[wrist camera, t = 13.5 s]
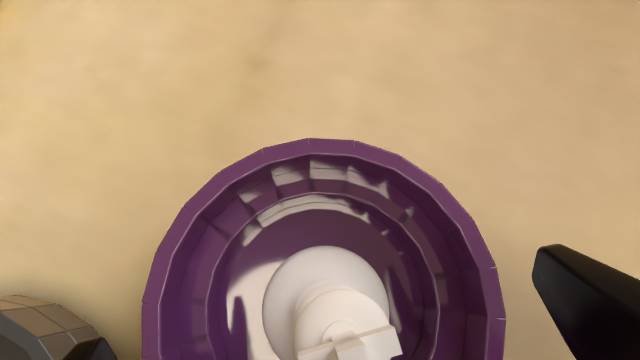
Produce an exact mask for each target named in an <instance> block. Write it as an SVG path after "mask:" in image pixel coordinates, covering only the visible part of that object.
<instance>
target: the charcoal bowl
mask: <svg viewBox="0 0 640 360" xmlns="http://www.w3.org/2000/svg"><path fill="white" fill-rule="evenodd" d="M95 337H100V336H99V335H98V334H97V332H96V331H95V330H94V328H93V327H92V326H91V325H90V324H88V323H87V322H85V321H84V320H82V319H81V318H79V317H77V316H76V315H74V314H73V313H71V312H70V311H68V310H67V309H65V308H64V307H62V306H61V305H57V304H56V303H51V302H47V301H42V300H38V299H34V298H29V297H25V296H17V295H14V296H0V360H62V359H63V357H64V356H65V355H66V354H67V353H68V352H69V351H70V350H71V349H72V348H73V347H74V346H75V345H76V344H77V343H78V342H79V341H81V340H85V339H90V338H95Z"/></svg>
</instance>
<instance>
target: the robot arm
mask: <svg viewBox="0 0 640 360" xmlns="http://www.w3.org/2000/svg"><path fill="white" fill-rule="evenodd" d="M532 280H533V284H534V286H535V288H536V290H537V292H538V294H539V295H540V297H541V299H542V301H543V303H544V304H545V306H546V308H547V310H548V312H549V313H550V315H551V317H552V319H553V321H554V322H555V324H556V326H557V328H558V330H559V331H560V333H561V335H562V337H563V339H564V341H565V342H566V344H567V346H568V347H569V349H570V351H571V352H572V354H573V355H574V357H575V358H576V360H640V280H638V279H636V278H634V277H632V276H629V275H627V274H625V273H623V272H621V271H619V270H616V269H614V268H612V267H610V266H608V265H605V264H603V263H601V262H599V261H597V260H594V259H592V258H590V257H588V256H586V255H583V254H581V253H579V252H577V251H575V250H573V249H570V248H568V247H566V246H564V245H561V244H553V245H548V246H543V247H540V248H539V249H538V251H537V254H536V258H535V263H534V267H533V272H532ZM62 360H118V359H117V357H116V356H115V354H114V352H113V351H112V349H111V348H110V346H109V344H108V343H107V341H106V340H105V339H104V338H103V337H95V338H90V339H85V340H81V341H79V342H78V343H77V344H76V345H75V346H74V347H73V348H72V349H71V350H70V351H69V352H68V353H67V354H66V355H65V356H64V357H63V359H62Z"/></svg>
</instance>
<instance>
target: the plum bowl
mask: <svg viewBox="0 0 640 360" xmlns="http://www.w3.org/2000/svg"><path fill="white" fill-rule="evenodd" d="M315 246H336V247H340V248H344V249H347V250H349V251H351V252H353V253H355V254H357V255H358V256H360V257H361V258H363V259H364V260H365V261H366V262H367V263H368V264H369V265H370V266H371V267H372V268H373V269H374V270H375V272H376V273H377V275H378V276H379V278H380V279H381V281H382V283H383V285H384V288H385V290H386V294H387V297H388V302H389V324H390V325H392V326H393V327H395V330H396V333H397V337H398V340H399V343H400V347H401V350H402V353H403V354H401V355H397V356H394V357H391V360H503V355H504V341H505V328H506V319H505V318H506V314H505V308H504V303H503V298H502V293H501V288H500V283H499V278H498V273H497V268H496V266H495V262H494V260H493V258H492V256H491V254H490V252H489V250H488V248H487V246H486V244H485V242H484V240H483V238H482V236H481V234H480V232H479V230H478V228H477V226H476V224H475V222H474V220H473V219H472V217H471V216H470V215H469V214H468V213H467V212H466V210H465V209H464V208H463V207H462V206H461V205H460V204H459V202H458V201H457V200H456V199H455V198H454V197H453V196H452V194H451V193H450V192H449V191H448V190H447V189H446V188H445V186H444V185H443V184H442V183H440V182H439V181H438V180H437V179H435V178H434V177H432V176H431V175H429V174H428V173H426V172H425V171H423V170H422V169H420V168H419V167H417V166H416V165H414V164H413V163H411V162H410V161H408V160H407V159H405V158H404V157H402V156H400V155H398V154H395V153H392V152H389V151H386V150H383V149H380V148H377V147H374V146H371V145H368V144H365V143H362V142H359V141H354V140H339V139H319V138H309V139H308V138H305V139H301V140H297V141H292V142H288V143H283V144H279V145H274V146H270V147H265V148H263V149H260V150H258V151H256V152H254V153H253V154H251V155H249V156H247V157H245V158H243V159H241V160H239V161H238V162H236V163H234V164H232V165H230V166H228V167H226V168H225V169H223V170H221V171H220V172H218V173H217V174H216V175H215V176H214V177H213V178H212V179H211V180H210V181H209V182H208V183H207V184H206V185H204V186H203V187H202V188H201V189H200V190H199V191H198V192H197V193H196V194H195V195H194V196H193V197H192V198H191V199H190V200H189V201H188V202H187V203H186V204H185V205H184V207H182V209H181V210H180V212H179V214H178V215H177V217H176V219H175V220H174V222H173V224H172V225H171V227H170V229H169V230H168V232H167V234H166V235H165V237H164V239H163V240H162V242H161V244H160V245H159V247H158V249H157V251H156V253H155V256H154V260H153V263H152V267H151V271H150V274H149V278H148V281H147V285H146V289H145V292H144V296H143V299H142V303H143V304H142V358H143V359H142V360H280V359H279V357H278V356H277V355H276V354H275V352H274V351H273V349H272V348H271V346H270V344H269V342H268V339H267V337H266V334H265V331H264V327H263V321H262V303H263V297H264V293H265V290H266V287H267V285H268V282H269V280H270V279H271V277H272V275H273V274H274V272H275V271H276V270H277V268H278V267H279V266H280V265H281V264H282V263H283V262H284V261H285V260H286V259H288V258H289V257H290V256H292V255H293V254H295V253H297V252H299V251H301V250H304V249H307V248H310V247H315Z"/></svg>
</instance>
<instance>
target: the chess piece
mask: <svg viewBox="0 0 640 360" xmlns="http://www.w3.org/2000/svg"><path fill="white" fill-rule="evenodd" d="M262 321H263V327H264V331H265V334H266V337H267V339H268V342H269V344H270V346H271V348H272V349H273V351H274V352H275V354H276V355H277V356H278V357H279V359H280V360H391V357H394V356H397V355H401V354H403V353H402V350H401V347H400V343H399V340H398V337H397V333H396V330H395V327H393V326H392V325H390V324H389V302H388V297H387V294H386V290H385V288H384V285H383V283H382V281H381V279H380V278H379V276H378V275H377V273H376V272H375V270H374V269H373V268H372V267H371V266H370V265H369V264H368V263H367V262H366V261H365V260H364V259H363V258H361V257H360V256H358V255H357V254H355V253H353V252H351V251H349V250H347V249H344V248H340V247H336V246H315V247H310V248H307V249H304V250H301V251H299V252H297V253H295V254H293V255H292V256H290V257H289V258H288V259H286V260H285V261H284V262H283V263H282V264H281V265H280V266H279V267H278V268H277V270H276V271H275V272H274V274H273V275H272V277H271V279H270V280H269V282H268V285H267V287H266V290H265V293H264V297H263V303H262Z"/></svg>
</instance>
